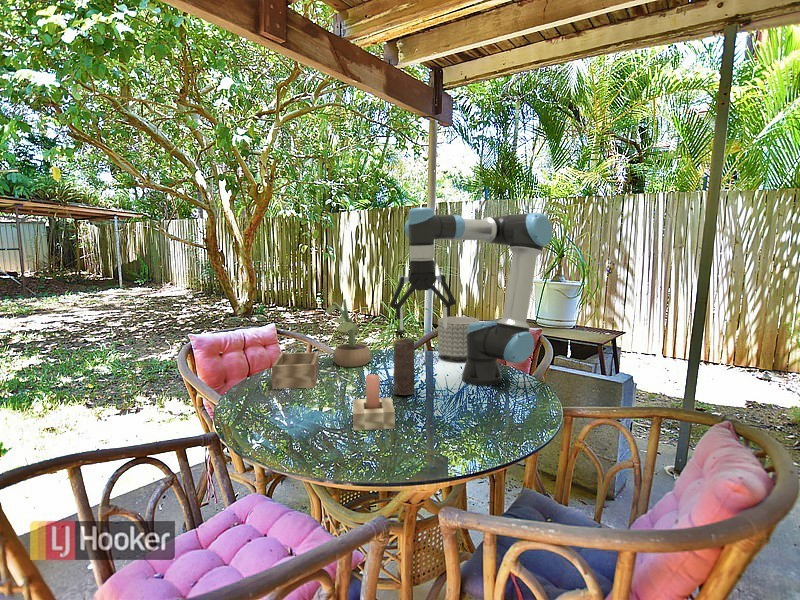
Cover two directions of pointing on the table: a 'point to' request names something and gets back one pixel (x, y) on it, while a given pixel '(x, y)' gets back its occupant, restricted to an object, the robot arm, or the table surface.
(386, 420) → the socket block
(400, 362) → the brown log
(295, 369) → the frame
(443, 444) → the table surface
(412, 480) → the table surface
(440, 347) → the planter
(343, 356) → the potted plant
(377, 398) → the peg
